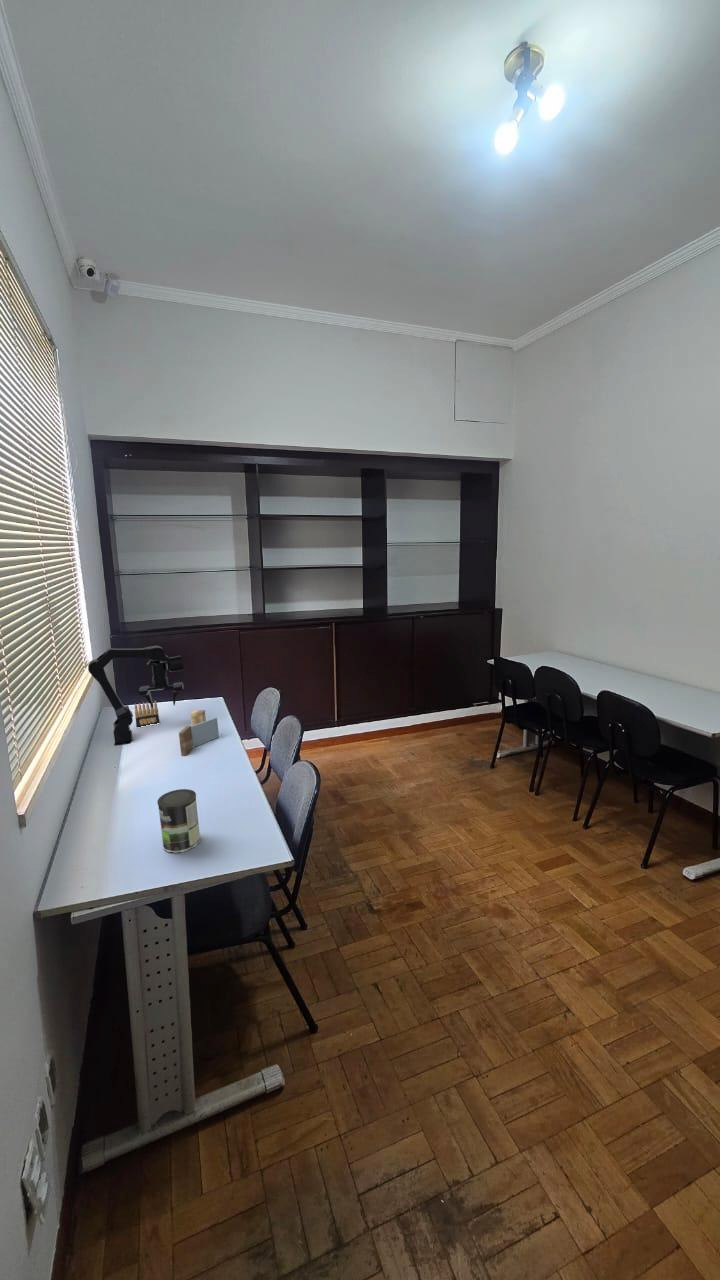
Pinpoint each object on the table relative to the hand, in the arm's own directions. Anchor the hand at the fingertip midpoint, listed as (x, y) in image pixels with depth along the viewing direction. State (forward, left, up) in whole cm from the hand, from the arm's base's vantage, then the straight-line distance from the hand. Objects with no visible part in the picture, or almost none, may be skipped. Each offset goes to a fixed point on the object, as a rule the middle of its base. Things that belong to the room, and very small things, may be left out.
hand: (163, 706), depth 235 cm
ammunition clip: (-10, +16, -13) cm, 23 cm away
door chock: (+15, -13, -13) cm, 24 cm away
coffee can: (+13, -99, -13) cm, 101 cm away
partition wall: (+11, -28, -13) cm, 32 cm away
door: (+18, -19, -13) cm, 29 cm away
